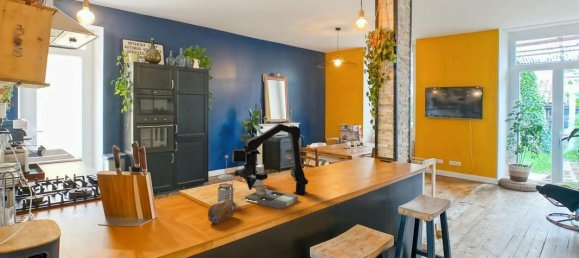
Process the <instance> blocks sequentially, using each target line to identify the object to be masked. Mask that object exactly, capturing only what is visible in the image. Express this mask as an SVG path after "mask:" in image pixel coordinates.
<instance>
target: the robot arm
mask: <svg viewBox="0 0 579 258" xmlns="http://www.w3.org/2000/svg"><path fill="white" fill-rule="evenodd" d="M280 132H285V133H287V134H288V139H289V140H290V144H291V145H290V146H291V155H292V157H291V158H292V168H290V169H289V170H290V176H291V177H292V179H293V180H294V181H295V191H293V194H294V195H300V196H304V195H306V194H308V193H309V192H308V191H306V187H307V185H308V183H309V180H308V179H307V178H306V175H305V172H304V168H303V166H302V163H301V152H300V151H301V150H300V138H301V129H300V127H299V126H296V125H293V124H292V125H285V124H283V123H276V125H274V126H273V127H271V128H269V129H268V130H266V131H264V132H262V133H261V134H259V135H257V136H253V137H250V138H249V139H247V140H246V142H245V145H244V146H243V147H242V149H233V150H232V155H231V161H232V163H244V162H245V163H244V165H243V167H242V168H240V169H235V171H234V176H236V177H240V178H242V179H244V180H245V182H246V184H247V187H248V190H250V191H252V189H253V188H254V187H253V185H254V183H255V181H256V180H263V181H264V180H268V174H267V173H266V172H264V173H258V174H256V173H257V171H256V166H257V165H259V164H258V163H257V157H258V156H257V155H261V152H260V151H259V149H258V148H259V147H261V145H262V144H264V142H266V141H267V140H269V139H270V138H272V137H274V136H275V135H277V134H278V133H280Z"/></svg>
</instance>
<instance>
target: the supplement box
mask: <svg viewBox="0 0 579 258" xmlns="http://www.w3.org/2000/svg"><path fill="white" fill-rule="evenodd" d="M256 171H257V173H256V174H258V173H265V172H264V171H265V165H264V164H258V165H257V166H256ZM259 185H262V186H264V180H256V181H255V183H254V185H253V186H255V187H254V188H256V187H257V186H259Z"/></svg>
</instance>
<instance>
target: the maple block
mask: <svg viewBox="0 0 579 258" xmlns="http://www.w3.org/2000/svg"><path fill="white" fill-rule="evenodd" d="M266 189H267V186H266V185H259V186H257V187H255V192H256V194H259V195H264V194H266Z"/></svg>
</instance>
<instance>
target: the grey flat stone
mask: <svg viewBox="0 0 579 258" xmlns="http://www.w3.org/2000/svg"><path fill="white" fill-rule="evenodd" d="M217 202H218V201H217ZM217 202H215V203H213V204H212V205H210V206H209V208H208V211H207V219H208V221H209V222H210V223H212V224H216V225H218V224H220V223H223V222H225V221H228V220H230V219H232V218H233V216H234V215H235V212H236V203H235V202H234V200H233V201H232V200H224V201H221V202H218V203H217Z"/></svg>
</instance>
